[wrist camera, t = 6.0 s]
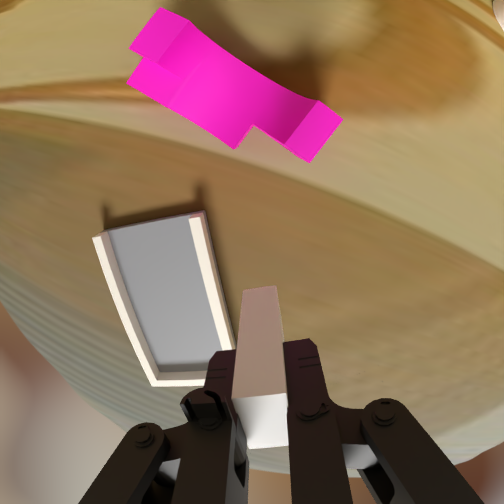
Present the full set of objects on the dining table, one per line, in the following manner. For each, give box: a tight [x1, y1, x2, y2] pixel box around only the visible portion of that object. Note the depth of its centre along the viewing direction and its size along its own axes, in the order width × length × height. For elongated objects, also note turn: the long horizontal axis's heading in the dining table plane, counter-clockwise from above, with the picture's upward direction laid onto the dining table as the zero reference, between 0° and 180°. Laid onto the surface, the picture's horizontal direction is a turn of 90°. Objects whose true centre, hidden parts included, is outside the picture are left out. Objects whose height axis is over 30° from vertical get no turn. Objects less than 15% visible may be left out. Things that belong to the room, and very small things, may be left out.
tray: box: [93, 210, 237, 386], centre depth 30 cm, size 19×11×2 cm, turn 10°
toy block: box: [126, 7, 343, 163], centre depth 21 cm, size 15×6×8 cm, turn 54°
